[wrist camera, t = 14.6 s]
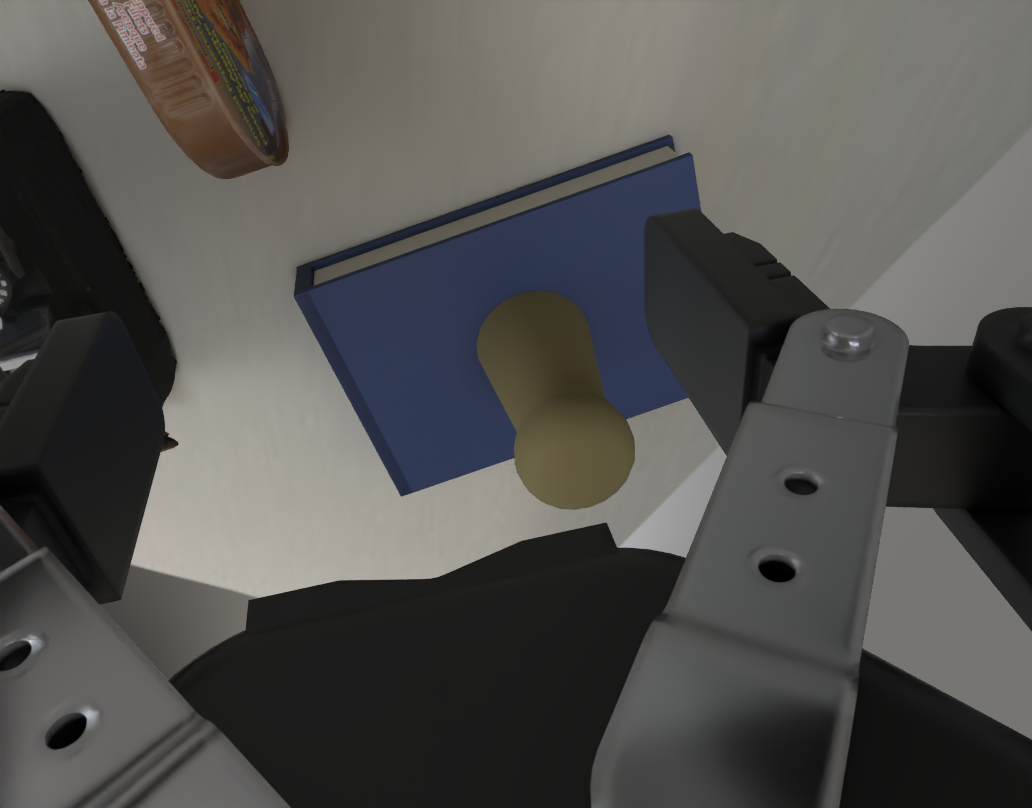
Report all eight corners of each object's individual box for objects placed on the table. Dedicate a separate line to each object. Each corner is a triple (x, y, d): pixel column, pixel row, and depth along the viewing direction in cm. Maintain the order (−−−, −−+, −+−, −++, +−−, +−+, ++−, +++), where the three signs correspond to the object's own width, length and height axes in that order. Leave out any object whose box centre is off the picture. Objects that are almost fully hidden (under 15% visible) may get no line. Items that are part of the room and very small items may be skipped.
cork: (514, 408, 43) (557, 552, 35) (453, 332, 40) (483, 470, 31) (608, 351, 42) (677, 484, 33) (554, 268, 39) (614, 391, 30)
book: (398, 462, 48) (400, 497, 46) (296, 267, 40) (293, 296, 37) (707, 355, 48) (728, 384, 45) (670, 134, 39) (692, 154, 37)
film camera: (-242, 190, 34) (-425, 296, 26) (-22, 33, 32) (-144, 95, 24) (83, 453, 44) (25, 588, 36) (264, 346, 42) (245, 462, 34)
